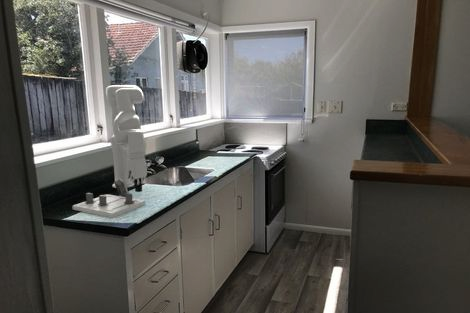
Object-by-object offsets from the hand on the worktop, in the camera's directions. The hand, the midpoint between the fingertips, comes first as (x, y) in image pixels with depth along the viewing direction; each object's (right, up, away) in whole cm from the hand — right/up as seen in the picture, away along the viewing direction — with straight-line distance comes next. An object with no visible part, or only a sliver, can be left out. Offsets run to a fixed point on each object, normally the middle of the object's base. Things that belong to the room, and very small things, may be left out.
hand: (138, 191), depth 185 cm
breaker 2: (-15, -6, -8) cm, 18 cm away
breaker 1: (-23, -5, -4) cm, 24 cm away
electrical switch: (-13, -4, +16) cm, 21 cm away
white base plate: (-13, -7, -4) cm, 16 cm away
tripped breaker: (-3, -5, -5) cm, 8 cm away
